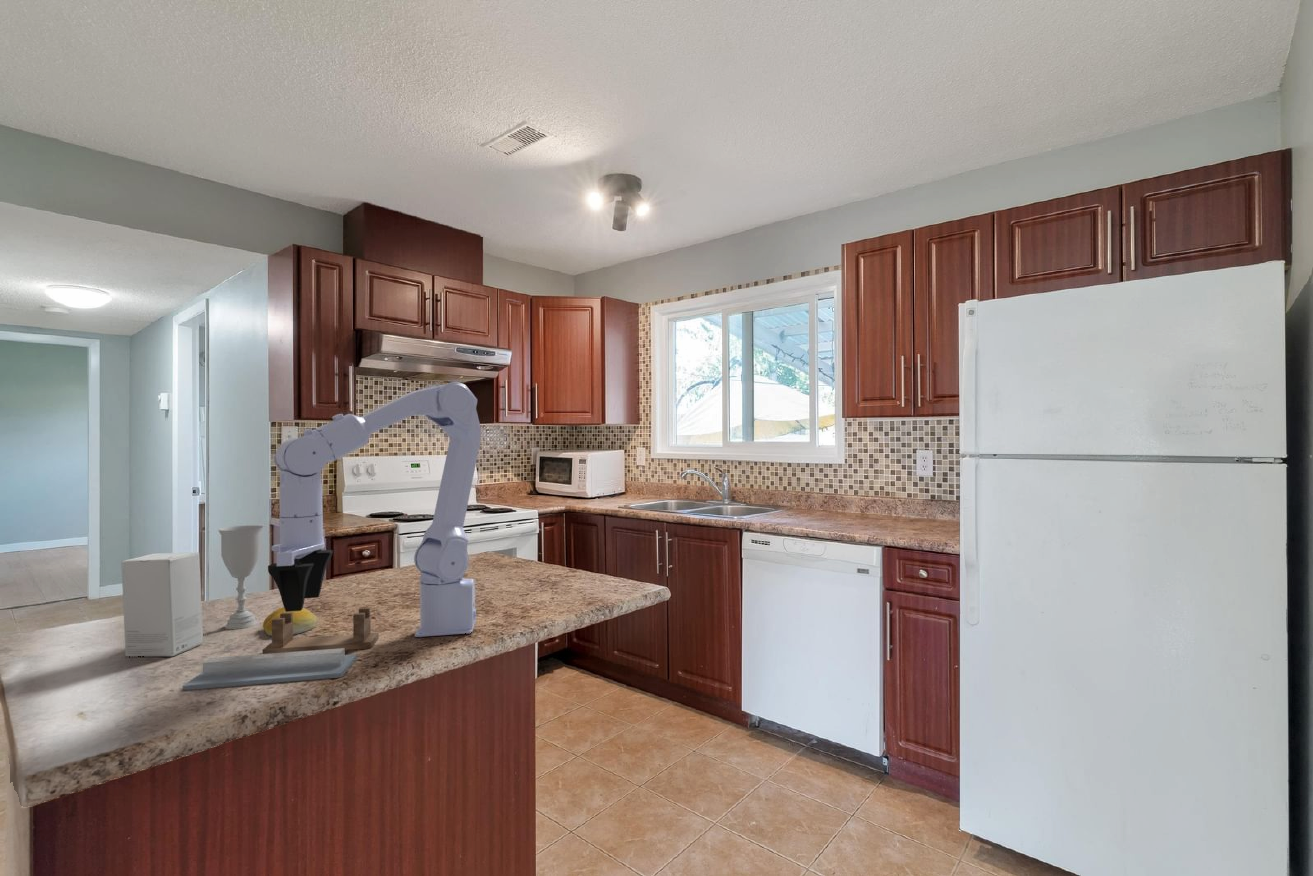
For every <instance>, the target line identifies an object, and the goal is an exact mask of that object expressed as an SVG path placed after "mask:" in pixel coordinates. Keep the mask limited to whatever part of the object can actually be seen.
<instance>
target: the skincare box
mask: <svg viewBox="0 0 1313 876" xmlns="http://www.w3.org/2000/svg"><path fill="white" fill-rule="evenodd" d="M200 563H201V561H200V552H198V551H197V552H172V553H171V552H166V553H165V552H163V553H162V552H161V553H159V552H158V553H157V552H155V553H150V554H146V555H143V556H139V557H134V558H130V559H125V560H123V561H121V562H120V564H121V580H122V581H121V582H122V585H121V586H122V603H123V604H122V605H123V623H124V624H123V625H124V629H123V630H124V646H125V647H124V648H125V657H126V656H127V657H126V658H130V657H131V658H132V657H134V658H135V657H137V658H138V656H141V657H142V656H144V657H174V656H178V655H179V654H182V653H184V652H187V651H190V650H191V649H192V650H193V649H194V648H197V647H198V646H200V645H202V644H203V643H204V635H203V633H204V632H203V630H204V629H203V611H202V610H203V608H202V607H203V606H202V585H201V565H200ZM129 656H130V657H129Z"/></svg>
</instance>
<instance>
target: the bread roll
mask: <svg viewBox="0 0 1313 876" xmlns="http://www.w3.org/2000/svg"><path fill="white" fill-rule="evenodd" d="M290 612H293V636H294V635H298V634H303V633H305V632H308V631H310V630H311V631H312V629H314V628H315V627H316V625H317V623H318V618H317V616H316V615H315V614H314V613H312V612H311V611H310V610H309V609H307V608H305V607H303V608H302V610H301V611H290ZM281 613H286V611H285V608H284V606H283V607H280V608H278V609H276V610H273V612H271V613H270V614H269V615H268V616H267V617H265V619H264V621H263V623H262V628H263V630H264V632H265V634H266V635H268V636H270V637H272V619H274V618H280V614H281Z"/></svg>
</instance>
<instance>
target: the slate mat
mask: <svg viewBox="0 0 1313 876" xmlns="http://www.w3.org/2000/svg"><path fill="white" fill-rule="evenodd" d="M357 659H358V654H357V653H355V654H354V653H353V654H345V662H344V663H343V664H342V665H341V666H336V667H323V668H311V669H298V670H285V671H273V672H260V673H247V674H235V675H222V676H209V677H203V671H202V672H201V673H199V674H197V675H195V676H194V677H193V678H192V679H191V680H189V681H187V682H186V683H185V684H184V685H182V691H191V690H193V691H194V690H202V689H203V690H204V689H214V688H226V687H228V688H229V687H238V686H239V687H241V686H250V685H252V686H253V685H262V684H263V685H264V684H275V683H277V684H278V683H288V682H298V681H299V682H301V681H311V680H312V681H313V680H324V679H335V678H336V679H337V678H338V679H339V678H343V676H344V675H345V674H346V673H347V672H348V671H349V669H350V668H351V667H352V665H353V664H354V663H355V661H356V660H357Z"/></svg>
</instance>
